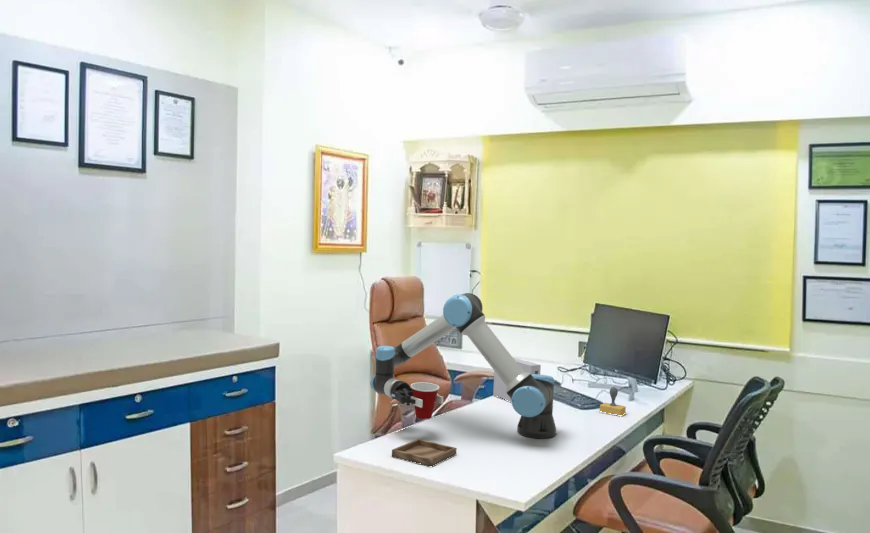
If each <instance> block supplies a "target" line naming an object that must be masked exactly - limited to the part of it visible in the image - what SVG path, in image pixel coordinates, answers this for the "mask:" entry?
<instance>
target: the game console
mask: <svg viewBox="0 0 870 533" xmlns="http://www.w3.org/2000/svg"><path fill="white" fill-rule="evenodd" d="M513 358H514V360H515V361H516V362H517V364H518V365H519V366H520V367H521V369H522V370H523V371H524V372H526V373H530V374H539V375H541V367H542V366H541V364H538V363H535V362H532V361H528V360H523V359H519V358H516V357H513ZM493 371H494V370H493ZM493 375H494V376H493V391H492V392H493V394H492V396H493V397H495V396H498V397H501V398H503V399H506V400H508V401H510V402H509V403H511V402H512V400H511V398H510V397H509V396H508V394H507V393H506V385H505V384H504V383H503V381H502V380H501V379H500V377H499V376H498V375H497V373H496V372H495V371H494V373H493ZM498 397H497V398H498ZM503 399H502V400H503ZM506 400H505V401H506ZM508 401H507V402H508Z"/></svg>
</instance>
